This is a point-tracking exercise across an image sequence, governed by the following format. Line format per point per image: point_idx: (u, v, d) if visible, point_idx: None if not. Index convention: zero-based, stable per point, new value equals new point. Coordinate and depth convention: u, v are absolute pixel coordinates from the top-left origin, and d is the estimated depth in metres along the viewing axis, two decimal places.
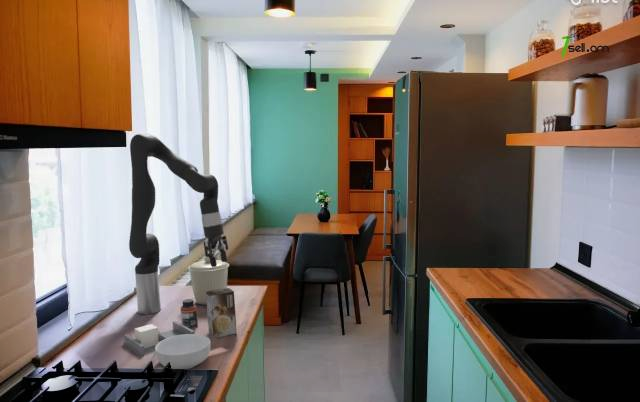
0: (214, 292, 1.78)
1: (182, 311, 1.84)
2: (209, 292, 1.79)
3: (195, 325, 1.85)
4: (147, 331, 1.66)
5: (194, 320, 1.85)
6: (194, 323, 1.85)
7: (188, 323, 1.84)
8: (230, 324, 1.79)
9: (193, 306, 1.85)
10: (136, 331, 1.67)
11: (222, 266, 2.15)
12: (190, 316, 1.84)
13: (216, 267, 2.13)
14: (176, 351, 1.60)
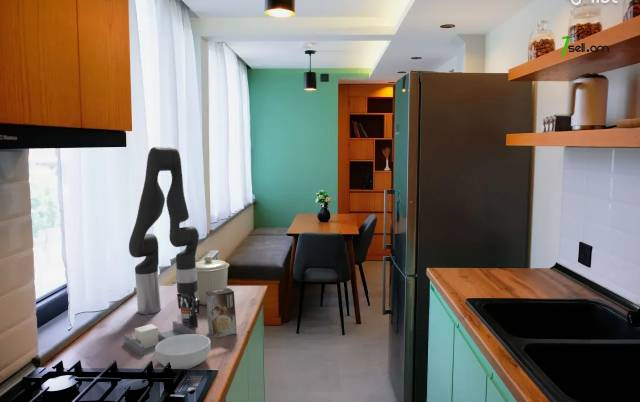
0: (214, 292, 1.78)
1: (182, 311, 1.84)
2: (209, 292, 1.79)
3: (195, 325, 1.85)
4: (147, 331, 1.66)
5: None
6: None
7: (188, 323, 1.84)
8: (230, 324, 1.79)
9: None
10: (136, 331, 1.67)
11: (222, 266, 2.15)
12: None
13: (216, 267, 2.13)
14: (176, 351, 1.60)
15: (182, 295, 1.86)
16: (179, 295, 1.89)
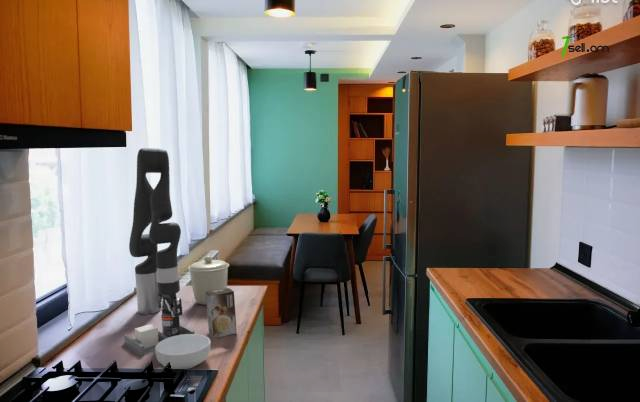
0: (214, 292, 1.78)
1: (163, 318, 1.72)
2: (209, 292, 1.79)
3: (177, 333, 1.73)
4: (147, 331, 1.66)
5: (176, 328, 1.73)
6: (176, 331, 1.73)
7: (169, 332, 1.71)
8: (230, 324, 1.79)
9: None
10: (136, 331, 1.67)
11: (222, 266, 2.15)
12: (171, 324, 1.71)
13: (216, 267, 2.13)
14: (176, 351, 1.60)
15: (163, 296, 1.74)
16: (160, 294, 1.77)
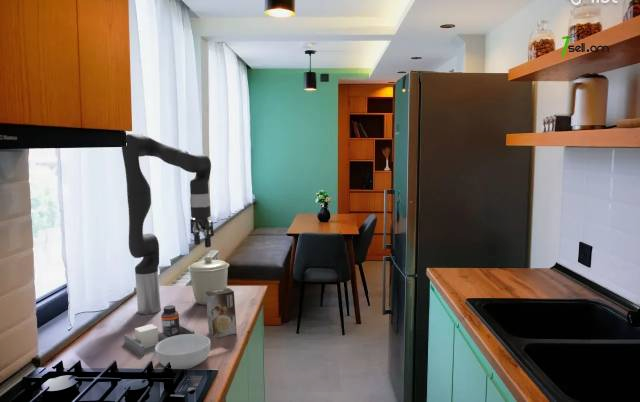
0: (214, 292, 1.78)
1: (163, 318, 1.72)
2: (209, 292, 1.79)
3: (177, 333, 1.73)
4: (147, 331, 1.66)
5: (176, 328, 1.73)
6: (176, 331, 1.73)
7: (169, 332, 1.71)
8: (230, 324, 1.79)
9: (175, 313, 1.73)
10: (136, 331, 1.67)
11: (222, 266, 2.15)
12: (171, 324, 1.71)
13: (216, 267, 2.13)
14: (176, 351, 1.60)
15: (195, 221, 1.94)
16: (192, 221, 1.97)
